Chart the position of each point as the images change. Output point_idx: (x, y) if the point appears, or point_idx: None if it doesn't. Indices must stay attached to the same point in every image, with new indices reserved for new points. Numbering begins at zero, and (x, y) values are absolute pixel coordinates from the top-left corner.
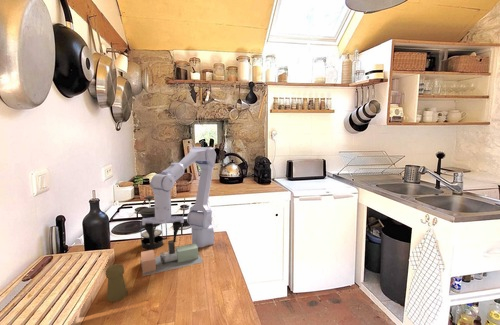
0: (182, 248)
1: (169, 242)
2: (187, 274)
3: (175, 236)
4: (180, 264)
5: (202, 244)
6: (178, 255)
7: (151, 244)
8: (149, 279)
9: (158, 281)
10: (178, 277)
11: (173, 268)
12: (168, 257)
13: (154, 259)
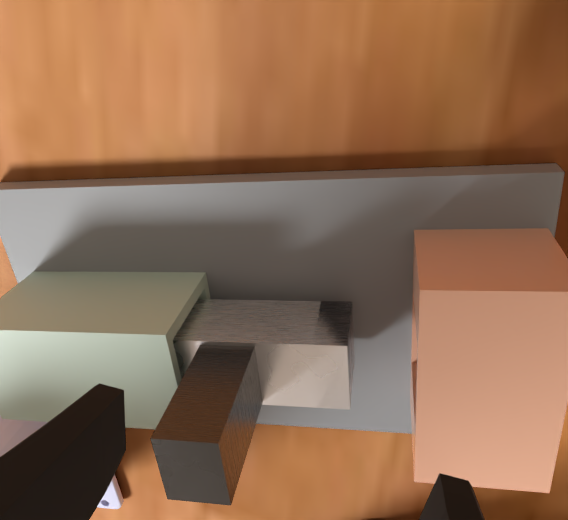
0: (117, 379)
1: (213, 466)
2: (130, 66)
3: (16, 453)
4: (184, 232)
5: (3, 429)
6: (173, 310)
7: None
8: (495, 122)
9: (414, 45)
10: (214, 44)
11: (249, 188)
12: (275, 325)
13: (431, 289)
